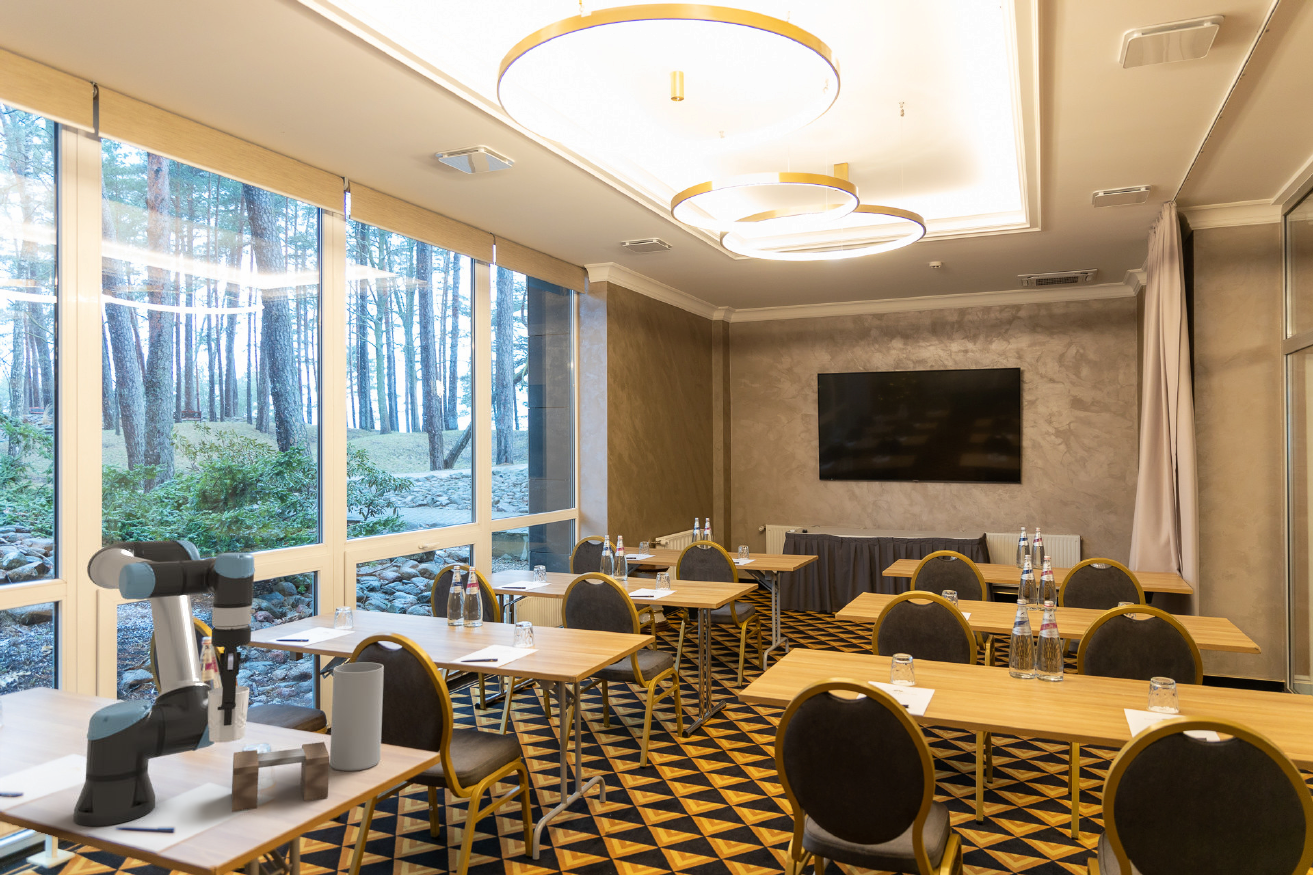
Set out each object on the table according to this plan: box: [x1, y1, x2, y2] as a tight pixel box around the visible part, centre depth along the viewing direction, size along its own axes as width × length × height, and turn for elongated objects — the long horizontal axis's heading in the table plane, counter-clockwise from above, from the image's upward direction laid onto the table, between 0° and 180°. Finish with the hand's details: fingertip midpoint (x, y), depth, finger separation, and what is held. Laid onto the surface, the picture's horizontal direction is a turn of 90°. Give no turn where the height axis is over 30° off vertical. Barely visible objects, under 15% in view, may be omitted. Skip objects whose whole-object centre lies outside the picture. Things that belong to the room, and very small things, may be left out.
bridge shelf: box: [231, 741, 330, 813], centre depth 195 cm, size 20×12×10 cm, turn 117°
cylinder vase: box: [329, 661, 385, 772], centre depth 219 cm, size 12×12×25 cm
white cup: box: [208, 685, 250, 744], centre depth 176 cm, size 8×8×10 cm
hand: (226, 734), depth 176 cm, fingers closed on white cup, 8 cm apart
